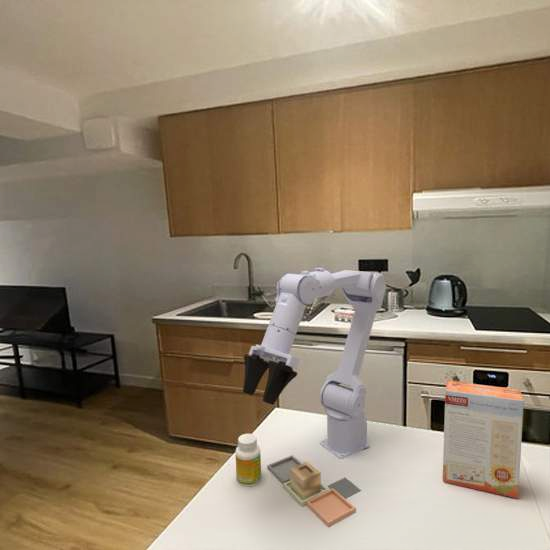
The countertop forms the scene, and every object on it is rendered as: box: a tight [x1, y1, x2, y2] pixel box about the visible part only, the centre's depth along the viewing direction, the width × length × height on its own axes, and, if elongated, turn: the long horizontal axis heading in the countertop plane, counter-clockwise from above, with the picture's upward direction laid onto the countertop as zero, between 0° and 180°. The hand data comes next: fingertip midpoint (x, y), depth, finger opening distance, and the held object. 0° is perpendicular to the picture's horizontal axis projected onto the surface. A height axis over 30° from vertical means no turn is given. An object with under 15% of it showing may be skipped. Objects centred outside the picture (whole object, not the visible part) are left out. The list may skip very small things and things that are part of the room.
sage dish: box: [282, 481, 330, 507], centre depth 83 cm, size 7×7×1 cm
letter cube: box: [290, 460, 322, 500], centre depth 83 cm, size 4×4×5 cm
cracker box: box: [442, 379, 525, 499], centre depth 83 cm, size 14×6×21 cm, turn 65°
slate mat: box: [326, 477, 362, 500], centre depth 83 cm, size 5×5×1 cm
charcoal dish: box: [266, 455, 303, 485], centre depth 89 cm, size 7×7×1 cm
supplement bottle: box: [235, 433, 262, 487], centre depth 87 cm, size 5×5×10 cm
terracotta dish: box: [305, 488, 357, 528], centre depth 78 cm, size 7×7×1 cm
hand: (257, 398), depth 75 cm, fingers open, 7 cm apart
